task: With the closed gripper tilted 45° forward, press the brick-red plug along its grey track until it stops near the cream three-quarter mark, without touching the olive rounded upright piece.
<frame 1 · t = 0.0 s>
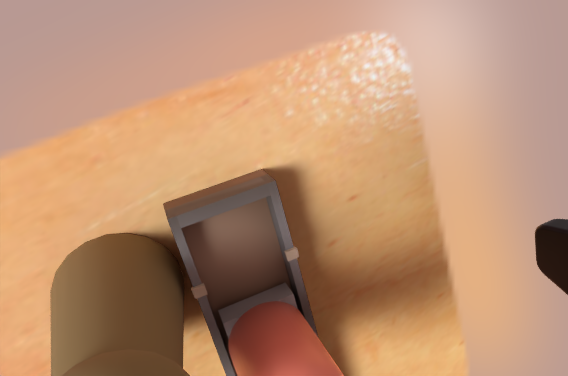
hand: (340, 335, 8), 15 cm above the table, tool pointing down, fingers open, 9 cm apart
track: (257, 319, 25), on the table
olive rounded upright piece: (120, 290, 22), on the table
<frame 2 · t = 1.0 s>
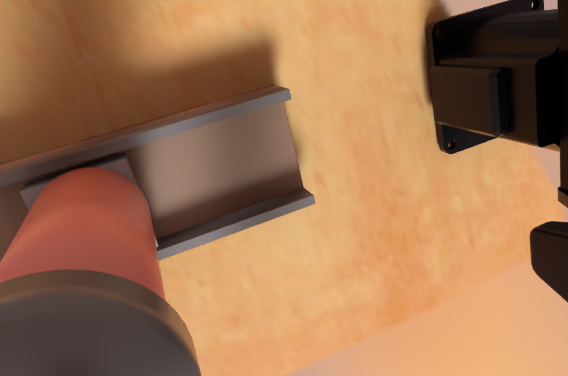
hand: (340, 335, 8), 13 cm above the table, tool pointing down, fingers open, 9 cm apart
plug: (83, 280, 12), point 7 cm above the table, slide at 0.0 cm, touching gripper
track: (108, 196, 19), on the table
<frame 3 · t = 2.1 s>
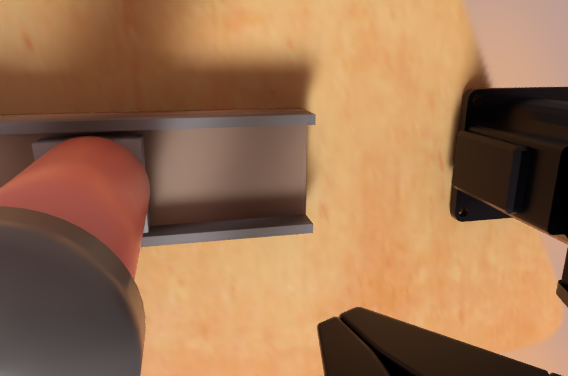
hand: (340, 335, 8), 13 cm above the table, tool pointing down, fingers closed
plug: (63, 239, 12), point 7 cm above the table, slide at 0.0 cm
track: (115, 172, 19), on the table
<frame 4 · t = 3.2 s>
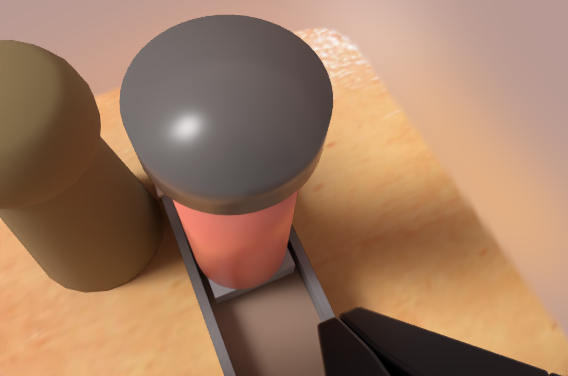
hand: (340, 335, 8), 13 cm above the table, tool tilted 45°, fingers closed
plug: (236, 199, 16), point 7 cm above the table, slide at 0.0 cm
track: (245, 268, 22), on the table
olive rounded upright piece: (101, 232, 23), on the table
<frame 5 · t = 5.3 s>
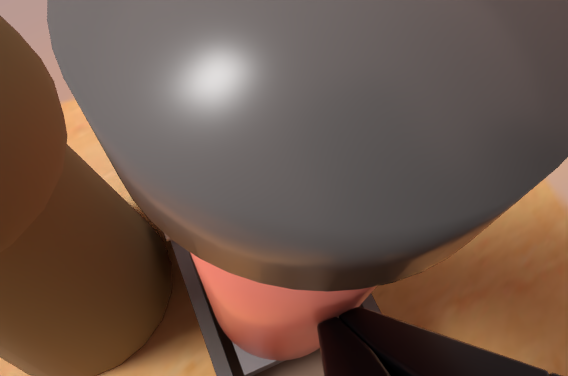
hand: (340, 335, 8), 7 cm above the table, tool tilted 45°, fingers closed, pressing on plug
plug: (290, 227, 9), point 7 cm above the table, slide at 0.8 cm, touching gripper
track: (291, 342, 15), on the table
olive rounded upright piece: (84, 287, 16), on the table
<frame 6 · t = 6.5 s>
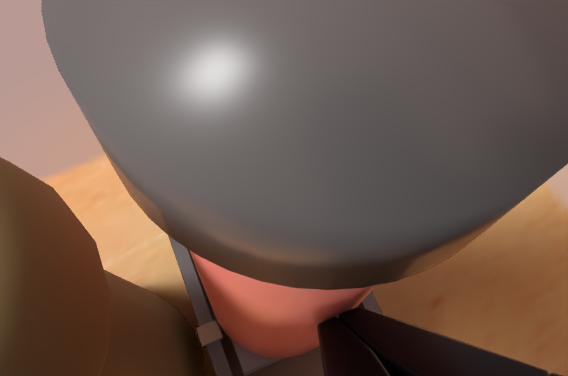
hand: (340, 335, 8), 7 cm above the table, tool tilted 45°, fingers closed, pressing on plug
plug: (290, 224, 9), point 7 cm above the table, slide at 4.2 cm, touching gripper
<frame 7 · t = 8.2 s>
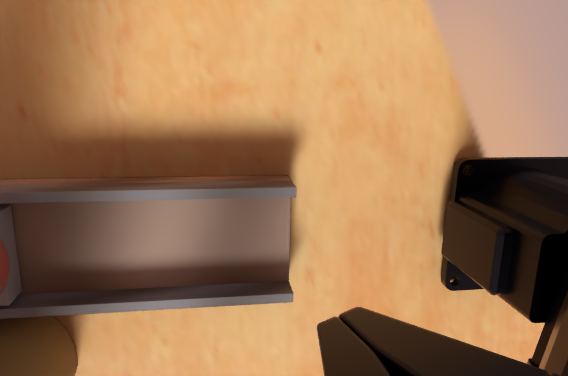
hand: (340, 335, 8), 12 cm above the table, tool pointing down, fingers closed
track: (101, 234, 20), on the table
olive rounded upright piece: (7, 358, 21), on the table
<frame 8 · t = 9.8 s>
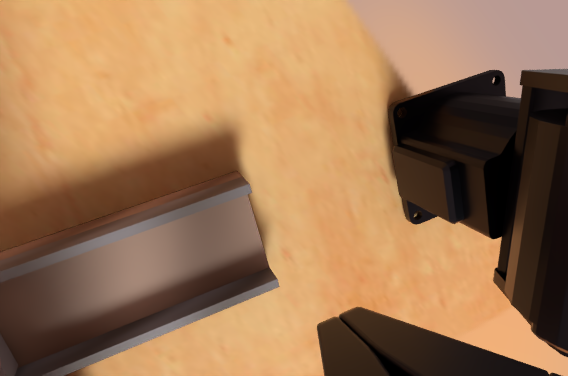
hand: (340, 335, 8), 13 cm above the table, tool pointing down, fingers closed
track: (76, 285, 20), on the table
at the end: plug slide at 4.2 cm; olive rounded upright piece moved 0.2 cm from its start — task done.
